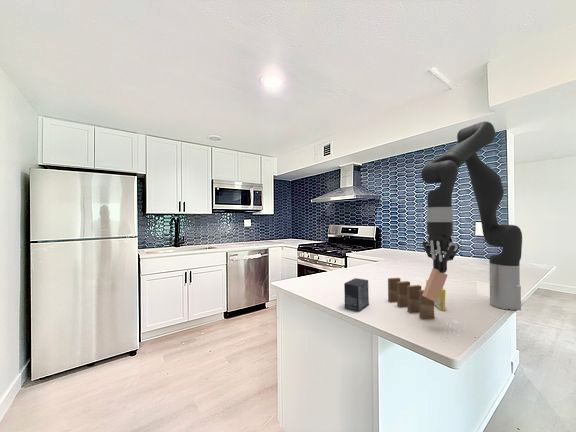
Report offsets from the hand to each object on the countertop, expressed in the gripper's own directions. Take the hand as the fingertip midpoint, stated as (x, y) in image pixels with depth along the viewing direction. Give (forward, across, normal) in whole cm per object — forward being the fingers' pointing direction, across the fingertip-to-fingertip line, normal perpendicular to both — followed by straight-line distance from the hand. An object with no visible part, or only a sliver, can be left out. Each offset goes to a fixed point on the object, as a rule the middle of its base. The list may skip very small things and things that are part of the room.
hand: (439, 271), depth 83 cm
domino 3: (+18, +12, 0) cm, 22 cm away
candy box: (+18, +18, -15) cm, 29 cm away
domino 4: (+18, +6, 0) cm, 19 cm away
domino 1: (+18, +24, 0) cm, 30 cm away
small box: (+18, +22, +19) cm, 35 cm away
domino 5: (+9, 0, +4) cm, 10 cm away
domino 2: (+18, +18, 0) cm, 26 cm away
